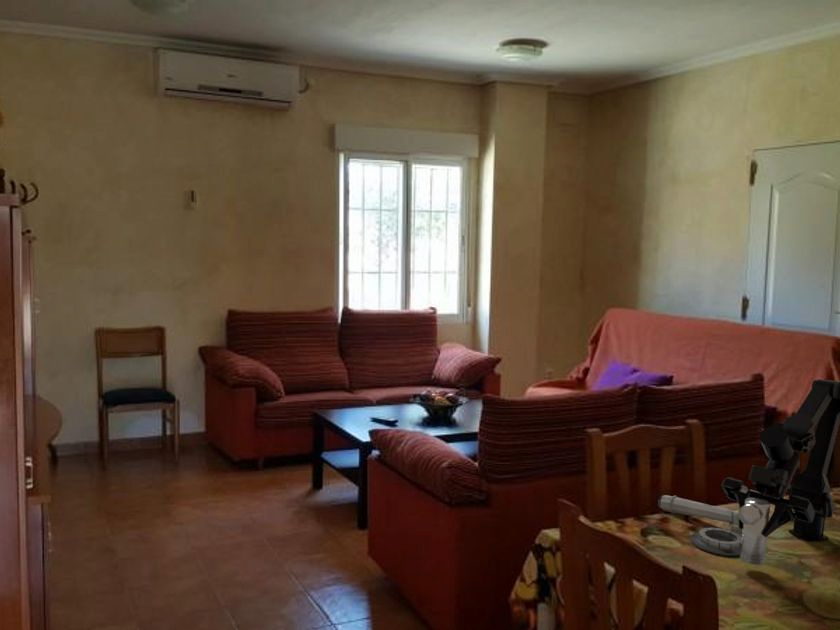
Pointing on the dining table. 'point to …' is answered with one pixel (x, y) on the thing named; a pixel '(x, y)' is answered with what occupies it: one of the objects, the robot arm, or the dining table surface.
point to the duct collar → (717, 541)
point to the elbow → (754, 530)
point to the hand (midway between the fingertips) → (752, 531)
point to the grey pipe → (700, 511)
